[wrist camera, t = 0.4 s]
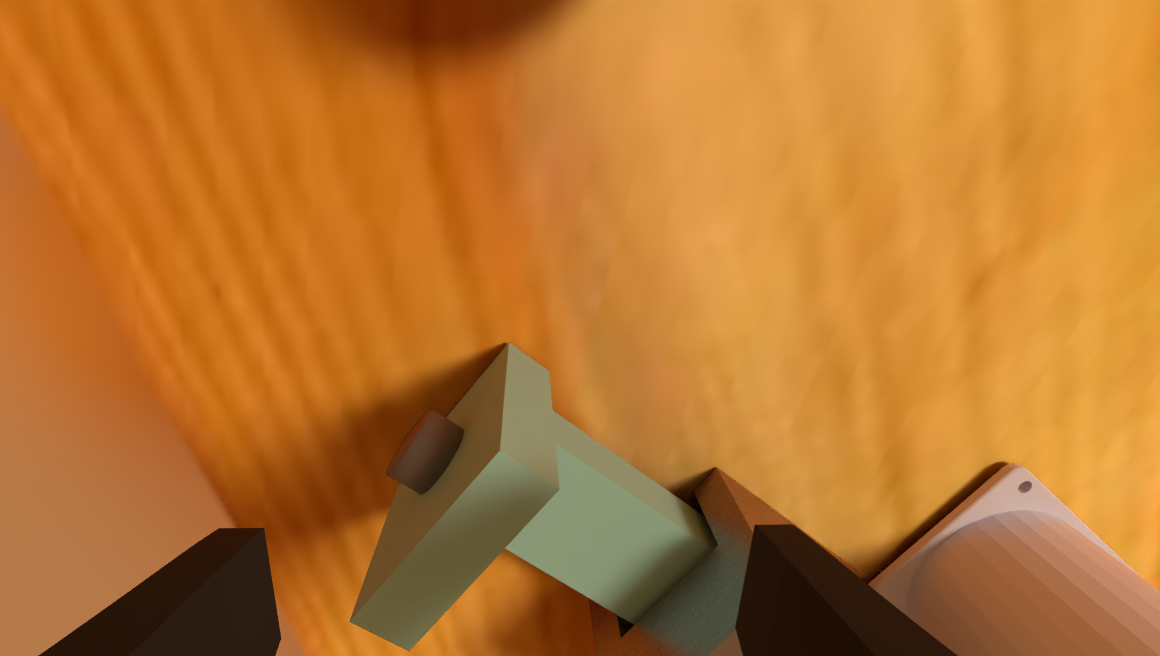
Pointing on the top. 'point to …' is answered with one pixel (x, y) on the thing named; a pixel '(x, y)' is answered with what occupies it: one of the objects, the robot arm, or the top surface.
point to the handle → (520, 510)
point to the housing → (698, 585)
